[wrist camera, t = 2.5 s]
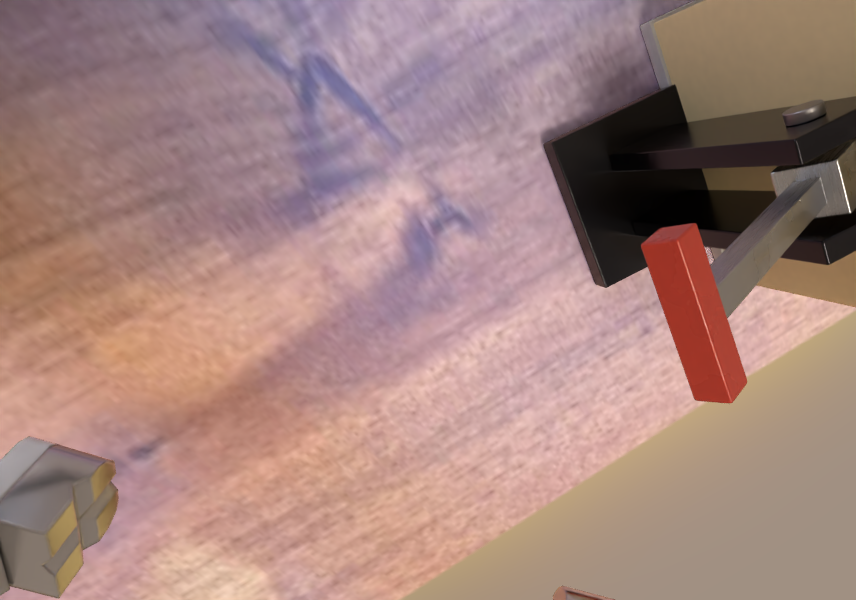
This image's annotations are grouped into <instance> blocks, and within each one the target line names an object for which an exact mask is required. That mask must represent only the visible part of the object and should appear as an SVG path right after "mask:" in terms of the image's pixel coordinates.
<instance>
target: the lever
mask: <svg viewBox="0 0 856 600" xmlns="http://www.w3.org/2000/svg"><path fill="white" fill-rule="evenodd" d="M770 175H771V179H772V183H773V186H774V190H775V193H776V197H777V198H776V199H775V200H774V201H773V202H772V203H771V204H770V205H769V206H768V207H767V208H766V209H765V210H764V211H763V212H762V213H761V214H760V215H759V216H758V217H757V218H756V219H755V220H754V221H753V222H752V223H751V224H750V225H749V226H748V227H747V229H746V230H745V231H744V232H743V233H742V234H741V235H740V236H739V237H738V238H737V239H736V240H735V241H734V242H733V243H732V244H731V245H730V246H729V247H728V248H727V249H726V250H725V251H724V252H723V253H722V254H721V255H720V256H719V257H718V258H717V259H716V260H715V261H714V262H713V263H712V264H711V265H710V264H709V261H708V258H707V254H706V251H705V248H704V245H703V242H702V239H701V236H700V233H699V230H698V227H697V224H696V223H690V224H684V225H677V226H671V227H664V228H660V229H658V230H657V231H656V232H655V233H654V234H652V235H651V236H650V237H649V238H648V239H647V240H645V241H644V242H643V243H642V244H641V248H642V251H643V254H644V257H645V260H646V262H647V265H648V268H649V271H650V274H651V277H652V280H653V282H654V285H655V288H656V291H657V294H658V297H659V300H660V302H661V305H662V308H663V311H664V314H665V317H666V319H667V322H668V325H669V328H670V331H671V334H672V337H673V339H674V342H675V345H676V348H677V351H678V354H679V357H680V359H681V362H682V365H683V368H684V371H685V374H686V377H687V379H688V382H689V385H690V388H691V391H692V394H693V397H694V399H695V400H697V401H707V402H719V403H732V402H733V401H734V400H735V399H736V397H737V396H738V395H739V393H740V392H741V390H742V389H743V388H744V386H745V385H746V384H747V379H746V376H745V372H744V369H743V366H742V363H741V360H740V357H739V354H738V351H737V348H736V344H735V341H734V338H733V335H732V332H731V329H730V326H729V323H728V320H727V318H728V317H729V316H730V315H731V314H732V312H733V311H734V310H735V309H736V308H737V307H738V306H739V304H740V303H741V302H742V301H743V300H744V299H745V297H746V296H747V295H748V294H749V293H750V292H751V290H752V289H753V288H754V287H755V286H756V285H757V284H758V282H759V281H760V280H761V279H762V278H763V277H764V275H765V274H766V273H767V272H768V271H769V270H770V269H771V267H772V266H773V265H774V264H775V263H776V262H777V260H778V259H779V258H780V257H781V256H782V255H783V253H784V252H785V251H786V250H787V249H788V248H789V247H790V245H791V244H792V243H793V242H794V241H795V240H796V238H797V237H798V236H799V235H800V234H801V233H802V232H803V230H804V229H805V228H806V227H807V226H808V225H809V223H810V222H811V221H812V220H813V219H817V218H824V217H832V216H839V215H846V214H851V213H852V212H853V210H854V209H855V208H856V138H855V139H853V140H851V141H849V142H847V143H845V144H843V145H841V146H839V147H837V148H835V149H833V150H831V151H829V152H827V153H825V154H823V155H821V156H819V157H817V158H815V159H813V160H811V161H809V162H807V163H805V164H803V165H790V166H777V167H776V168H775V169H774V170H773V171H772V172H771V173H770Z"/></svg>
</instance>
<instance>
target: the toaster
mask: <svg viewBox="0 0 856 600" xmlns="http://www.w3.org/2000/svg"><path fill="white" fill-rule="evenodd" d="M640 28H641V31H642V34H643V38H644V41H645V44H646V47H647V50H648V53H649V56H650V59H651V63H652V66H653V69H654V72H655V75H656V78H657V81H658V84H659V88H660V89H661V88H664V87H668V86H671V85H674V84H675V85H676V87H677V91H678V94H679V97H680V100H681V103H682V107H683V110H684V113H685V116H686V119H687V122H692V121H698V120H705V119H711V118H718V117H724V116H731V115H737V114H744V113H750V112H757V111H763V110H770V109H776V108H783V107H789V106H796V105H800V104H802V103H806V102H809V101H813V100H823V101H828V100H835V99H841V98H848V97H854V96H856V0H694V1H692V2H690V3H688V4H685V5H683V6H681V7H679V8H677V9H674V10H672V11H670V12H668V13H666V14H664V15H661V16H659V17H657V18H655V19H653V20H650V21H648V22H646V23H644V24H642V25H640ZM776 167H777V166H762V167H734V168H706V169H702V171H703V174H704V177H705V180H706V183H707V187H708V190H751V191H775V190H774V186H773V183H772V179H771V175H770V173H771V172H772V171H773V170H774V169H775V168H776ZM711 250H712V254H713V257H714V260H716V259H717V258H718V257H719V256H720V255H721V254H722V253H723V252H724V251H725V250H724V249H718V248H711ZM757 286H761V287H766V288H770V289H775V290H780V291H784V292H789V293H793V294H798V295H802V296H807V297H812V298H816V299H821V300H825V301H830V302H834V303H839V304H844V305H848V306H853V307H856V251H855V252H853V253H851V254H849V255H847V256H845V257H844V258H842V259H840V260H838V261H836V262H834V263H832V264H830V265H823V264H816V263H810V262H803V261H797V260H790V259H784V258H779V259H778V260H777V262H776V263H775V264H774V265H773V266H772V267H771V269H770V270H769V271H768V272H767V273H766V274H765V275H764V277H763V278H762V279H761V280H760V281H759V282H758V284H757Z"/></svg>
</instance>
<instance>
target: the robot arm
mask: <svg viewBox="0 0 856 600" xmlns="http://www.w3.org/2000/svg"><path fill="white" fill-rule="evenodd" d="M115 474H116V469H115V463H114V461H112V460H109V459H106V458H102V457H99V456H95V455H92V454H88V453H85V452H82V451H78V450H75V449H71V448H68V447H65V446H61V445H59V444H56V443H52V442H48V441H45V440H41V439H37V438H34V437H30V436H29V437H27V438H25V439H23V440H21V441H20V442H18V443H17V444H16V445H15V446H14V447H13V448H12V449H11V450H10V451H9V452H8V453H7V454H6V455H5V456H4V457H3V458H2V459H1V460H0V595H2V594H4V593H5V592H7V591H8V590H10V587H9V586H11V587H15V588H19V589H23V590H27V591H31V592H35V593H39V594H43V595H47V596H51V597H55V598H60V596H61V595H62V593H63V592H64V591H65V589H66V588H67V586H68V585H69V584H70V582H71V581H72V579H73V578H74V577H75V575H76V574H77V572H78V571H79V570H80V568H81V567H82V565H83V564H84V563H83V550H84V549H86V548H88V547H90V546H92V545H93V544H95V543H97V542H99V541H100V540H101V538H102V537H103V535H104V534H105V532H106V531H107V529H108V528H109V526H110V524H111V522H112V519H113V517H114V515H115V513H116V510H117V504H118V499H119V498H118V489H117V488H116V487H115V486H114V485H113V483H112V482H111V480H112V478H113V477H114V476H115ZM553 600H615V599H611V598H608V597H604V596H600V595H596V594H592V593H588V592H584V591H581V590H576V589H573V588H569V587H565V586H561V587H559V588H558V589H557V590H556V592H555V593H554V595H553Z"/></svg>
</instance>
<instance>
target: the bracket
mask: <svg viewBox="0 0 856 600" xmlns="http://www.w3.org/2000/svg"><path fill="white" fill-rule="evenodd" d="M855 138H856V96H854V97H848V98H841V99H835V100H828V101H823V100H813V101H809V102H806V103H802V104H800V105H796V106H789V107H783V108H776V109H770V110H763V111H757V112H750V113H744V114H737V115H731V116H724V117H718V118H711V119H705V120H698V121H692V122H687V119H686V116H685V113H684V110H683V107H682V103H681V100H680V97H679V94H678V91H677V87H676V85H675V84H674V85H671V86H668V87H664V88H661V89H658V90H656V91H654V92H652V93H650V94H648V95H646V96H643V97H641V98H639V99H637V100H635V101H633V102H631V103H629V104H627V105H624V106H622V107H620V108H618V109H616V110H614V111H612V112H610V113H608V114H605V115H603V116H601V117H599V118H597V119H595V120H593V121H591V122H588V123H586V124H584V125H582V126H580V127H578V128H576V129H574V130H572V131H569V132H567V133H565V134H563V135H561V136H559V137H557V138H555V139H553V140H550V141H548V142H546V143H544V144H543V145H544V148H545V151H546V153H547V156H548V159H549V161H550V164H551V167H552V169H553V172H554V175H555V177H556V180H557V183H558V185H559V188H560V191H561V193H562V196H563V198H564V201H565V204H566V206H567V209H568V212H569V214H570V217H571V220H572V222H573V225H574V228H575V230H576V233H577V236H578V238H579V241H580V244H581V246H582V249H583V252H584V254H585V257H586V259H587V262H588V265H589V267H590V270H591V273H592V275H593V278H594V281H595V283H596V285H599V286H602V287H605V288H607V287H609V286H611V285H613V284H615V283H617V282H618V281H620V280H622V279H624V278H626V277H628V276H630V275H632V274H634V273H636V272H638V271H640V270H642V269H644V268H646V267H648V265H647V262H646V260H645V257H644V254H643V251H642V248H641V244H642V243H643V242H644V241H645V240H647V239H648V238H649V237H650V236H651V235H652V234H654V233H655V232H656V231H657V230H658V229H660V228H664V227H671V226H677V225H684V224H690V223H696V224H697V227H698V230H699V233H700V236H701V239H702V242H703V245H704V246H705V247H711V248H718V249H724V250H726V249H727V248H728V247H729V246H730V245H731V244H732V243H733V242H734V241H735V240H736V239H737V238H738V237H739V236H740V235H741V234H742V233H743V232H744V231H745V230H746V229H747V227H748V226H749V225H750V224H751V223H752V222H753V221H754V220H755V219H756V218H757V217H758V216H759V215H760V214H761V213H762V212H763V211H764V210H765V209H766V208H767V207H768V206H769V205H770V204H771V203H772V202H773V201H774V200H775V199H776V198H777V197H776V193H775V191H751V190H708V187H707V183H706V180H705V177H704V174H703V171H702V169H706V168H734V167H762V166H790V165H803V164H805V163H807V162H809V161H811V160H813V159H815V158H817V157H819V156H821V155H823V154H825V153H827V152H829V151H831V150H833V149H835V148H837V147H839V146H841V145H843V144H845V143H847V142H849V141H851V140H853V139H855ZM855 251H856V208H855V209H854V210H853V212H852V213H851V214H846V215H839V216H832V217H824V218H817V219H813V220H812V221H811V222H810V223H809V225H808V226H807V227H806V228H805V229H804V230H803V232H802V233H801V234H800V235H799V236H798V237H797V238H796V240H795V241H794V242H793V243H792V244H791V245H790V247H789V248H788V249H787V250H786V251H785V252H784V253H783V255H782V256H781V257H780V258H784V259H790V260H797V261H803V262H810V263H816V264H823V265H830V264H832V263H834V262H836V261H838V260H840V259H842V258H844V257H845V256H847V255H849V254H851V253H853V252H855Z"/></svg>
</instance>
